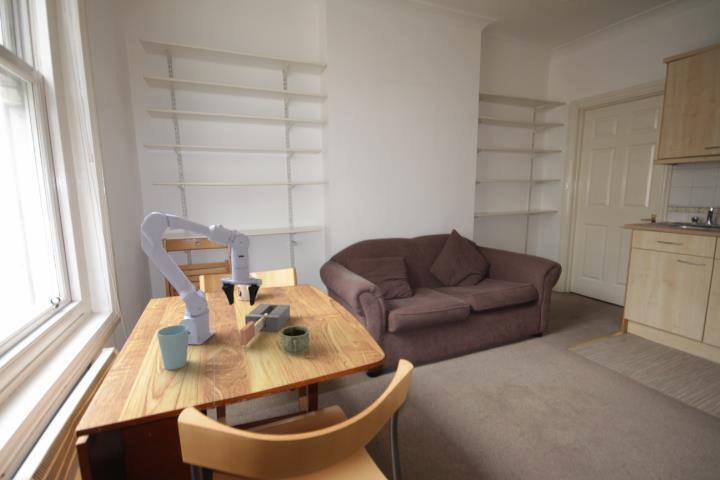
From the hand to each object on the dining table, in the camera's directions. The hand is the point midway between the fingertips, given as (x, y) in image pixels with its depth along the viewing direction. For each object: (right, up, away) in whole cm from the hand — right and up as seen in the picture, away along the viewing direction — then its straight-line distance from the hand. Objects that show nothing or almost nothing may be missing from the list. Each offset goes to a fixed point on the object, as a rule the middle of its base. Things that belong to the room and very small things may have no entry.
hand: (242, 304), depth 118 cm
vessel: (+22, -12, -14) cm, 28 cm away
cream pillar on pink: (+6, -9, -4) cm, 12 cm away
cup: (-10, -13, -24) cm, 29 cm away
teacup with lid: (-10, -5, +36) cm, 38 cm away
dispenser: (+8, -9, +8) cm, 14 cm away
